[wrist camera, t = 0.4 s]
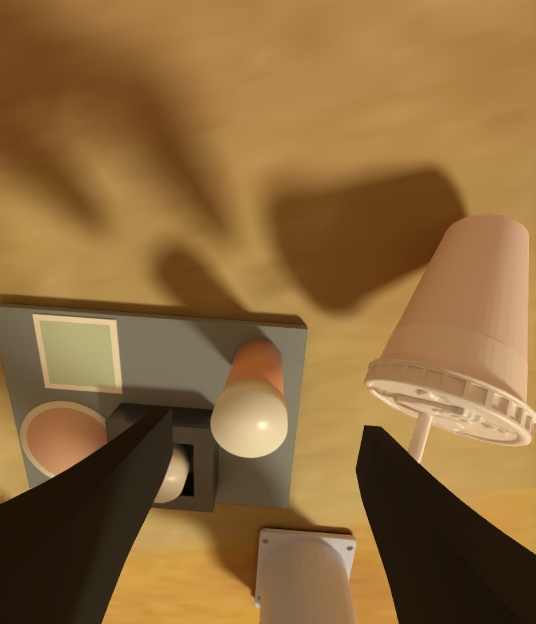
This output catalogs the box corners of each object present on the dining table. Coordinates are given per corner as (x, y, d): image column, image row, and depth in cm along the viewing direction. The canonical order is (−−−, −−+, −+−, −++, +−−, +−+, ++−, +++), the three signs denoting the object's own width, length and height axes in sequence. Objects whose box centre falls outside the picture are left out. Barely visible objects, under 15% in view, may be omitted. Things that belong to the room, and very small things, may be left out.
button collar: (218, 487, 23) (212, 512, 21) (128, 480, 23) (114, 504, 21) (219, 410, 21) (213, 429, 19) (120, 402, 21) (105, 420, 19)
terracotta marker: (282, 386, 20) (284, 460, 14) (231, 382, 20) (210, 454, 14) (286, 338, 19) (291, 395, 13) (232, 334, 19) (210, 389, 13)
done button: (191, 482, 21) (183, 505, 19) (141, 478, 21) (129, 500, 19) (191, 440, 20) (182, 460, 18) (138, 436, 20) (125, 456, 18)
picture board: (287, 499, 24) (287, 510, 23) (37, 479, 24) (28, 489, 23) (306, 325, 20) (307, 330, 19) (0, 302, 20) (-12, 306, 19)
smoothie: (396, 242, 19) (310, 462, 15) (478, 168, 13) (369, 510, 8) (486, 288, 19) (426, 522, 14) (612, 236, 13) (571, 613, 8)
